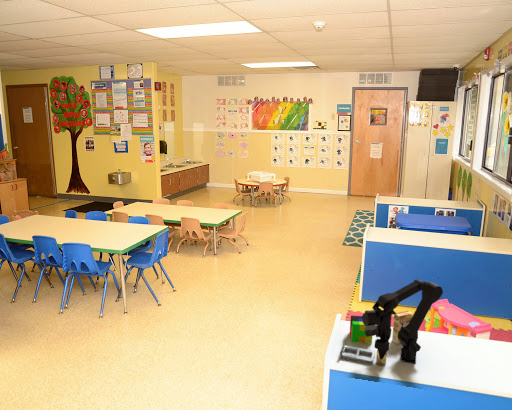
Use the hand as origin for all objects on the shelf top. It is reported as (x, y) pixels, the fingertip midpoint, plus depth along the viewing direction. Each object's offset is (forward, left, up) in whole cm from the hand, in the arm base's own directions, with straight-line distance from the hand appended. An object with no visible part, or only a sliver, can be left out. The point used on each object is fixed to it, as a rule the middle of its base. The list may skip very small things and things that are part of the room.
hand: (381, 354), depth 199 cm
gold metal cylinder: (0, 0, -5) cm, 5 cm away
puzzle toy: (+12, -21, -5) cm, 25 cm away
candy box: (-8, -26, -5) cm, 28 cm away
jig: (+11, -2, -5) cm, 12 cm away
